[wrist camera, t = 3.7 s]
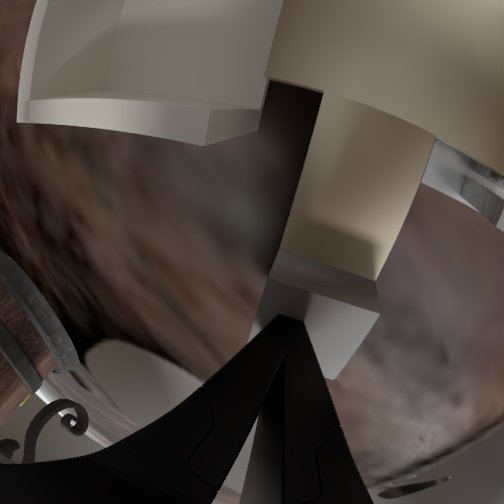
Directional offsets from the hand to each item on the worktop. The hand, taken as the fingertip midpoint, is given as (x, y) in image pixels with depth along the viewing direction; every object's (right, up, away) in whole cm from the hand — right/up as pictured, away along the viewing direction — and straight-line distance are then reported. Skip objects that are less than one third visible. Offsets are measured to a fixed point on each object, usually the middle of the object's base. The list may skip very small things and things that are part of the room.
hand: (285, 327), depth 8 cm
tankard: (-25, -8, +18) cm, 32 cm away
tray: (-3, +12, 0) cm, 12 cm away
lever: (+7, +3, -1) cm, 8 cm away
